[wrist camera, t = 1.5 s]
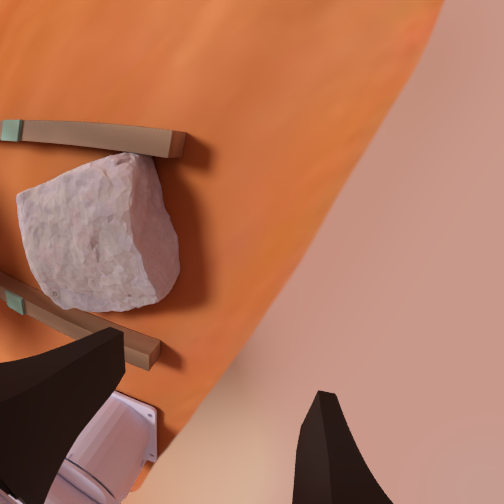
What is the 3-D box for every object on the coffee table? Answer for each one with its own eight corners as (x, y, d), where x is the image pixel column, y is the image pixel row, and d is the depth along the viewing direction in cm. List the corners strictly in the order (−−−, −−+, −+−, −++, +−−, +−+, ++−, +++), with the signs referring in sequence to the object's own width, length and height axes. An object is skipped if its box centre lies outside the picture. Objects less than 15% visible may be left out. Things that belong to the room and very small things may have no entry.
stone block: (201, 274, 22) (154, 134, 18) (178, 318, 18) (111, 151, 14) (83, 287, 25) (36, 183, 21) (52, 321, 21) (-5, 206, 17)
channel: (159, 356, 23) (147, 374, 21) (-15, 274, 25) (-30, 282, 23) (186, 131, 18) (170, 129, 15) (-17, 120, 20) (-35, 121, 18)
